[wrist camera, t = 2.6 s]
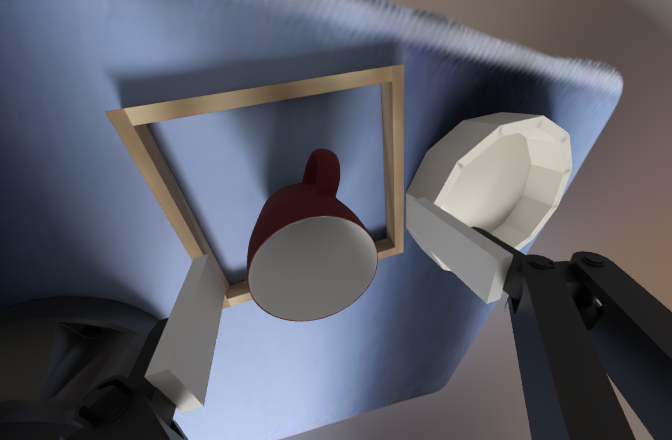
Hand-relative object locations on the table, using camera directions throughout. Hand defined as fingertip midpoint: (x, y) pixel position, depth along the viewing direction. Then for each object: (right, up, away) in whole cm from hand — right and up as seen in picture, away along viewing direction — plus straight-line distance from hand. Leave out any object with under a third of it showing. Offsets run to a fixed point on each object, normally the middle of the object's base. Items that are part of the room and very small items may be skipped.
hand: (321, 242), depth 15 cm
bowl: (+17, +5, +13) cm, 22 cm away
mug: (-3, +4, +7) cm, 9 cm away
